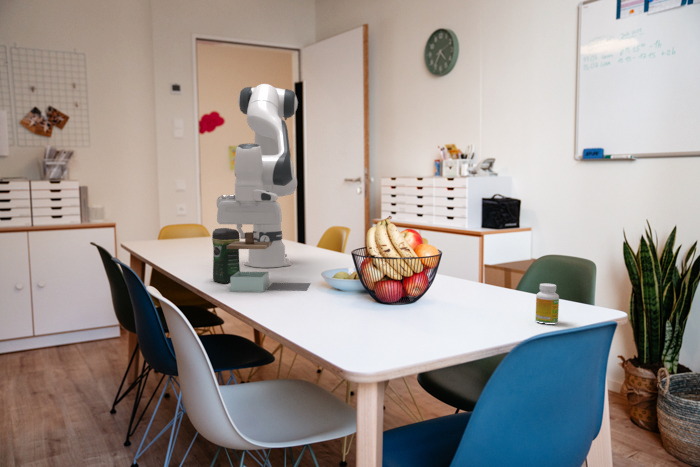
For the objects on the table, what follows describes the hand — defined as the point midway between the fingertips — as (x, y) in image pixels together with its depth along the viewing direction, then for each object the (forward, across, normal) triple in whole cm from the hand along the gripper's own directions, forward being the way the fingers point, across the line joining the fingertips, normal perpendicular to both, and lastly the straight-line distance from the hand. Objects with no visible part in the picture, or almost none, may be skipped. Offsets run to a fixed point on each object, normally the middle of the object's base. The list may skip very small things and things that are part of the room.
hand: (249, 238), depth 183 cm
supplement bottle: (+17, +83, -37) cm, 92 cm away
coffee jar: (+17, -11, +14) cm, 25 cm away
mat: (+17, +12, +4) cm, 21 cm away
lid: (+3, 0, 0) cm, 3 cm away
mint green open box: (+16, 0, 0) cm, 17 cm away
